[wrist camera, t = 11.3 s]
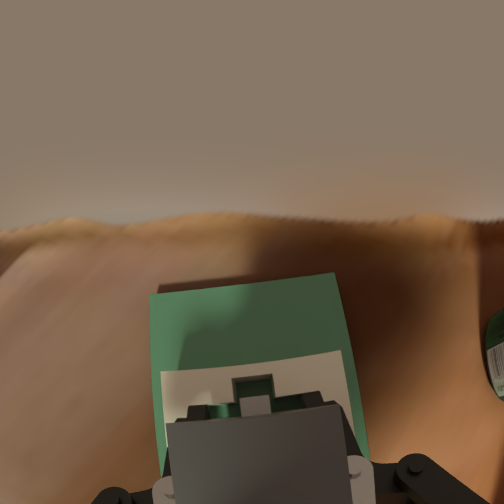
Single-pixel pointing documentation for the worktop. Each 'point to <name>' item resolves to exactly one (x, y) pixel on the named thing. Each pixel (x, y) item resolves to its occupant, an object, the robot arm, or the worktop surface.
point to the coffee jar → (495, 352)
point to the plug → (261, 457)
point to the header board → (251, 350)
